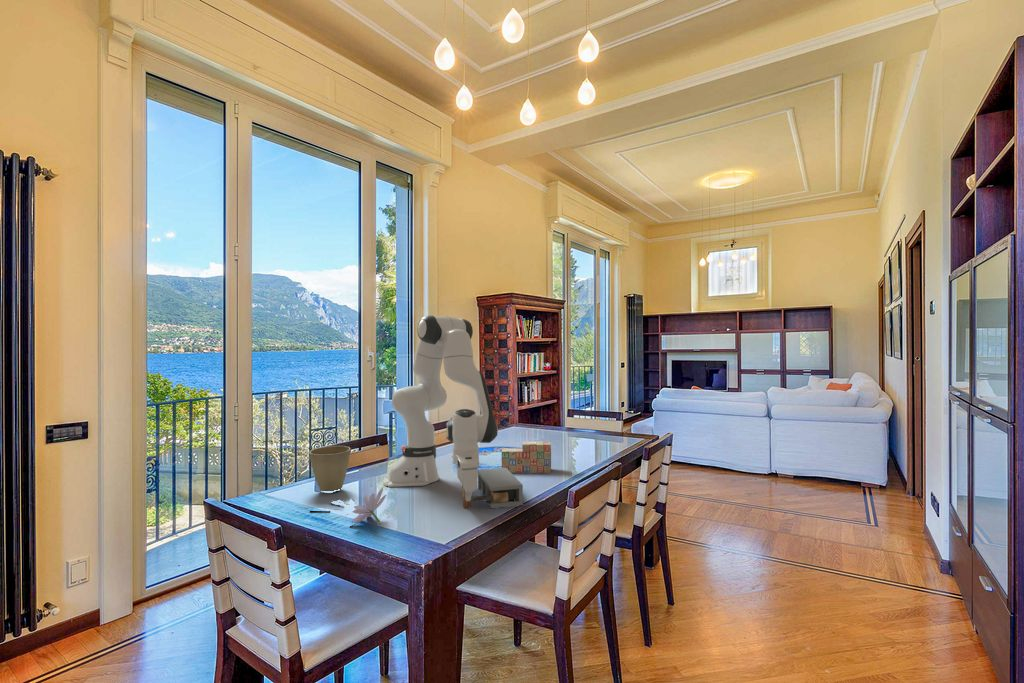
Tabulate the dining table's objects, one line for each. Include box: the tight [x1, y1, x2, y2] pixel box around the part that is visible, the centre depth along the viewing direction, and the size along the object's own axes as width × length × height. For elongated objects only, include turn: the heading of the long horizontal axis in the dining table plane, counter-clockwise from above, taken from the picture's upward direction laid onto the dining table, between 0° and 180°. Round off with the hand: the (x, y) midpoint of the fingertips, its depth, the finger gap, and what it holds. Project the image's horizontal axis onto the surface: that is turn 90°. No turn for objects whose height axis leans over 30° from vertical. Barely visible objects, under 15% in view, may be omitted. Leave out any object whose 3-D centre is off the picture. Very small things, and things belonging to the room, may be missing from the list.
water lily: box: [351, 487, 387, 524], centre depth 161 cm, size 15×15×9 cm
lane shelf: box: [477, 467, 524, 509], centre depth 185 cm, size 11×25×7 cm, turn 14°
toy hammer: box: [462, 488, 509, 509], centre depth 175 cm, size 15×5×7 cm, turn 104°
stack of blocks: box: [501, 440, 552, 474], centre depth 220 cm, size 21×6×12 cm, turn 86°
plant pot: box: [309, 445, 351, 491], centre depth 196 cm, size 15×15×16 cm
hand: (466, 497), depth 174 cm, fingers open, 4 cm apart
